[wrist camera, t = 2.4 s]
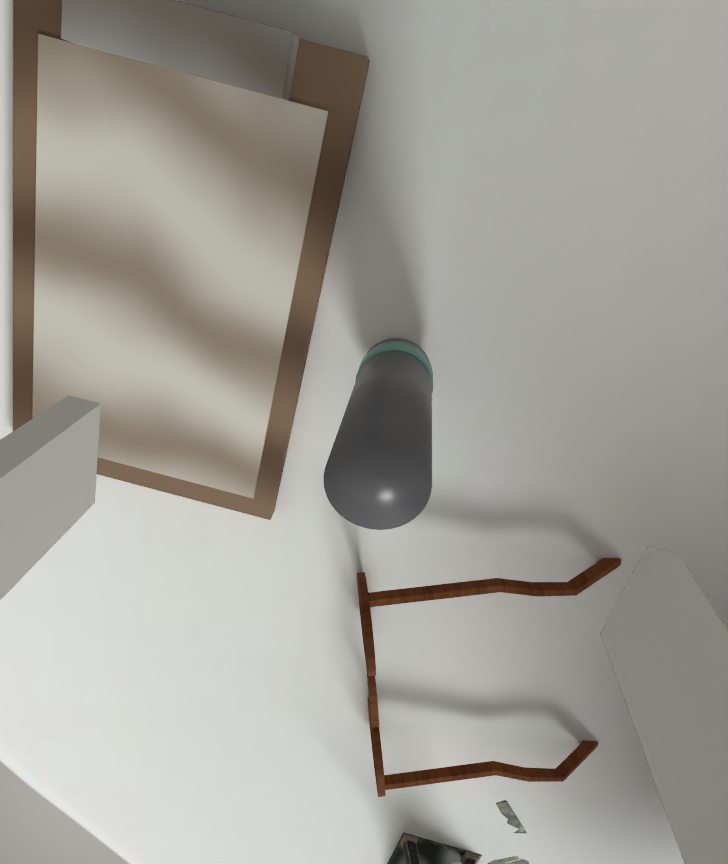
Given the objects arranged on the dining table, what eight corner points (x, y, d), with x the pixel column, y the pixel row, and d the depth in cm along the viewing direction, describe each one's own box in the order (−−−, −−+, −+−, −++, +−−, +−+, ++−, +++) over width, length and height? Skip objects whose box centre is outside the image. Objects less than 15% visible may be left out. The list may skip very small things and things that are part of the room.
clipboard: (274, 511, 31) (263, 533, 29) (23, 444, 30) (-3, 462, 29) (369, 60, 22) (364, 51, 21) (27, -32, 22) (-9, -49, 20)
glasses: (355, 551, 32) (343, 616, 27) (618, 552, 30) (651, 620, 25) (371, 734, 37) (363, 815, 32) (596, 743, 35) (621, 829, 31)
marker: (421, 406, 28) (416, 542, 17) (355, 388, 28) (311, 515, 17) (441, 341, 26) (447, 448, 16) (371, 323, 26) (335, 419, 16)
